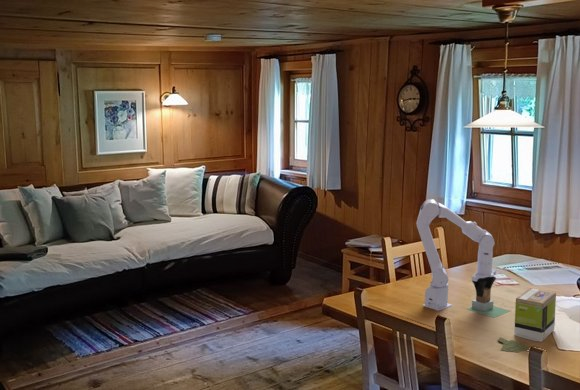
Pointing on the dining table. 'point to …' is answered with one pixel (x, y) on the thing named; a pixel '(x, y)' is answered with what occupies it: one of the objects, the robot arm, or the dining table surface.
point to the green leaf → (512, 345)
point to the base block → (482, 305)
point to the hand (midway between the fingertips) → (483, 294)
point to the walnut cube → (484, 296)
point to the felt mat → (490, 311)
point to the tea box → (535, 314)
